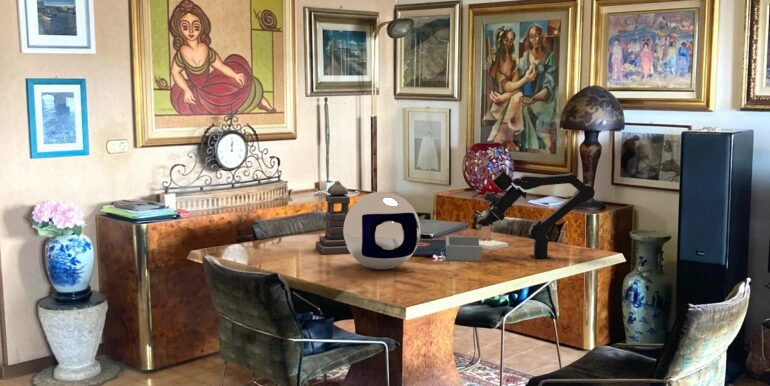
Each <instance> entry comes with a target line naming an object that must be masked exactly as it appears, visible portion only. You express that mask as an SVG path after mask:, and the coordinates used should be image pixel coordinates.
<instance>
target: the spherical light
mask: <svg viewBox="0 0 770 386" xmlns="http://www.w3.org/2000/svg"><path fill="white" fill-rule="evenodd" d="M421 230H422V229H421V223H420V219H419V216H418V214H417V212H416V210H415V209H414V207H413V206H412V204H410V202H409V201H407V200H406V199H405V198H404V197H402V196H401V195H398V194H396V193H393V192H388V191H376V192H371V193H368V194H366V195H363V196H361V198H358V199H357V200H356V202H354V203H353V204H352V206H350V208H349V211H348V213H347V215H346V218H345V221H344V226H343V235H344V241H345V244H346V246H347V248H348V250H349V252H350V253H351V254H350V255H351V256H352V257H353V258H354V259H355V261H357V262H358V263H359V264H361V265H362V266H365V267H367V268H370V269H373V270H380V271H381V270H382V271H385V270H390V269H394V268H397V267H399V266H401V265H402V264H404V263H406V262H407V261H408V260H409V259H410V258H411V257H412V256H413V255H414V253H415V251H416V250H417V248H418V246H419V243H420V239H421Z"/></svg>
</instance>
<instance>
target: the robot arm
mask: <svg viewBox="0 0 770 386" xmlns="http://www.w3.org/2000/svg"><path fill="white" fill-rule="evenodd" d="M491 183H493V184H494V186H495V187H496V188H498V189H499V191H504V193H503V194H501V195H499V196H498V195H496V193H494V192H489V191H486V192H485V194H484V196H483V200H485V201H486V202H489V203H488V204H487V205H488V207H487V211H489V215H488V216H487V218H486V219H485V220H484V222H483V223H482V225H481V227H482V226H486V225H488V224H489V225H490V224H491V223H493V224H494V223H496V222H498V221H501V222H503V221H504V219H505V218H506V215H505V214H506V212H507V211H508V210H509V209H510V208H512V207H513V205H514V204H515V203H516V202H517V201H518V200H519V199H520V198H521V197H522V198H523V199H524V200H526V199H527V191H529V190H533V189H536V188H538V187H541V186H551V185H552V186H554V185H566V184H568V185H569V184H570V185H571V186H573V187H574V188H575V189H576V190H575V192H574V193H573V195H572V196H571V197H570V198H569V199H568V200H567V201H565V202H564V203H563V204H562V205H560V206H558V208H557V209H555V210H554V211H552V213H551V214H549V215H548V216H547V217H546V218H544V219H540V218H539V217H538V218H537V219H536V220H535V221H534V222H533V223H531V224H530V225H531V226H530V227H529V229H528V233H529V236H530V237H531V239H533V240H534V242H533V253H532V254H530V257H532V258H534V259H550V258H552V256H549V255H548V250H549V249H548V247H549V242H550V239H549V237H548V236H547V233H548V232H549V230H550V229H551V228H552V227H553V226H554V225H556V223H558V222H559V221H560V220H561V219H562V218H564V217H566V215H568V214H570V212H572V211H573V210H574V209H575V208H577V207H578V206H580V205H581V204H584V203H587V202H589V201H590V200H592V199H593V198H594V197H595V196H596V195H595V194H596V191H595V189H594V187H593V186H592V185H590V184H587V183H584V182H582V181H581V180H580V179H579V178H578V177H577V176H576V175H575V174H574V173H571V172H569V173H566V174H565V173H563V174H562V173H561V174H552V175H551V174H550V175H534V174H533V175H532V174H523V175H520V177H516V178H515V177H514V178H511V177H510V175H509V174H508V173H507V171H505V170H502V171H501V172H499V173H498V174H497V175H495V177H493V179H492V180H491ZM523 190H525V191H523Z"/></svg>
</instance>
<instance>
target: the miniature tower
mask: <svg viewBox="0 0 770 386" xmlns="http://www.w3.org/2000/svg"><path fill="white" fill-rule="evenodd" d="M326 192H327V194H325V202H327V204H326V205H327V206H326V207H327V211H325V231H324V235H319V240H317V241H315V249H316V250H317V251H318V252H319V253H320V254H321V255H323V256H325V255H326V256H327V255H351V253H350V252H349V250H348V248H347V246H346V244H345V241H344V235H343V226H344V221H345V218H346V215H347V213H348V211H349V210H350V208H349V207H350V206H349V204H350V203H351V197H350V196H349V195H348V194H349V191H348V189H347V188H346V187H345V186H344V185H342V183H341V182H340V180H336V181H335V182H334V184H331V186H329V187H328V188H327V191H326ZM334 204H335V205H338V204H341V207H340V208H341V209H340V210H335V211H334V208H335V207H334V206H335V205H334Z"/></svg>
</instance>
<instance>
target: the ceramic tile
mask: <svg viewBox="0 0 770 386" xmlns="http://www.w3.org/2000/svg"><path fill="white" fill-rule="evenodd" d="M479 246H482V249H484V250H493V249H494V250H495V249H501V248H507V247H509V243H508V242H503V241H499V240H494V239H492V241H487V239H486V241H482V239H481V240H479Z"/></svg>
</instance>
